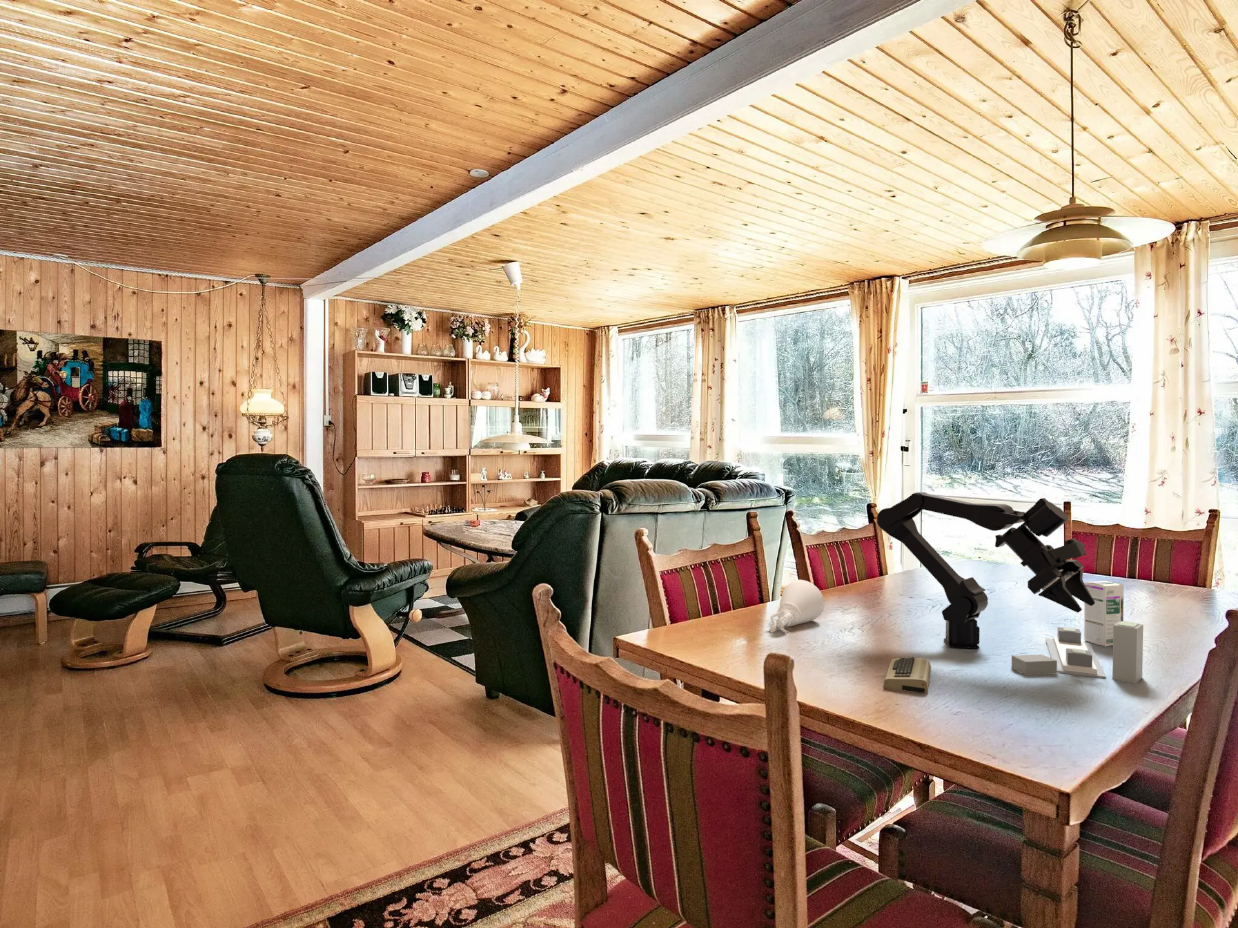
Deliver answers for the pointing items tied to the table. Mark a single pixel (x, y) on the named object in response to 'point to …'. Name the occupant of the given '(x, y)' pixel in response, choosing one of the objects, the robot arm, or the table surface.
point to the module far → (1069, 635)
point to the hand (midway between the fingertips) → (1086, 607)
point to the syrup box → (1103, 611)
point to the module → (1127, 651)
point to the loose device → (1034, 664)
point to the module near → (1078, 657)
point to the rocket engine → (798, 605)
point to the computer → (908, 675)
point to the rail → (1059, 654)
